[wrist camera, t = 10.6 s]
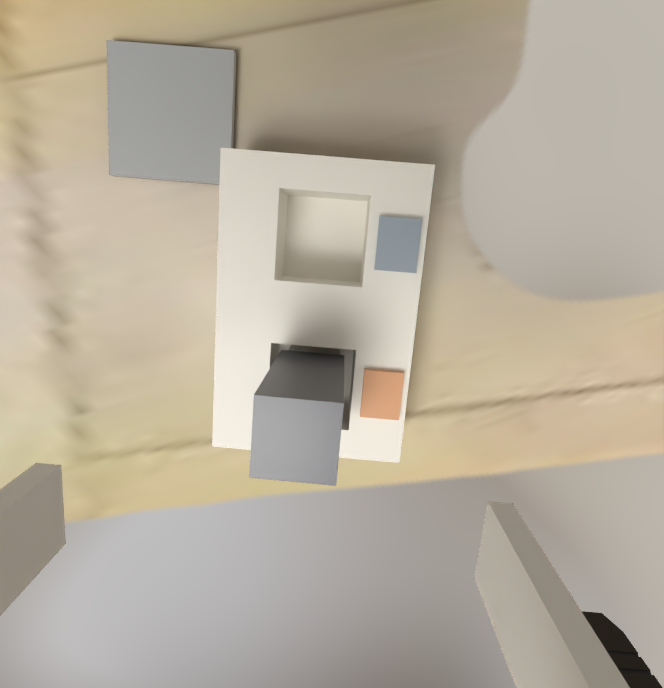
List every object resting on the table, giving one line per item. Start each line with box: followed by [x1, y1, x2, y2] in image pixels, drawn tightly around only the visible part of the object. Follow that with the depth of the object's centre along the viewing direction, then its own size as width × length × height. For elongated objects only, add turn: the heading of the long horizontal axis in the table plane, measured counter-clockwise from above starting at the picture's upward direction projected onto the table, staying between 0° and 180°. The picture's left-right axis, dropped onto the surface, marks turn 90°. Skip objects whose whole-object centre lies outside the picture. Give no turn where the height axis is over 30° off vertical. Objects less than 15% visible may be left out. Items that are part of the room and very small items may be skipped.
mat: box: [107, 40, 236, 185], centre depth 30 cm, size 8×8×1 cm
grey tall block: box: [249, 345, 344, 486], centre depth 27 cm, size 4×4×12 cm
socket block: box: [212, 148, 435, 463], centre depth 30 cm, size 18×12×5 cm, turn 175°
